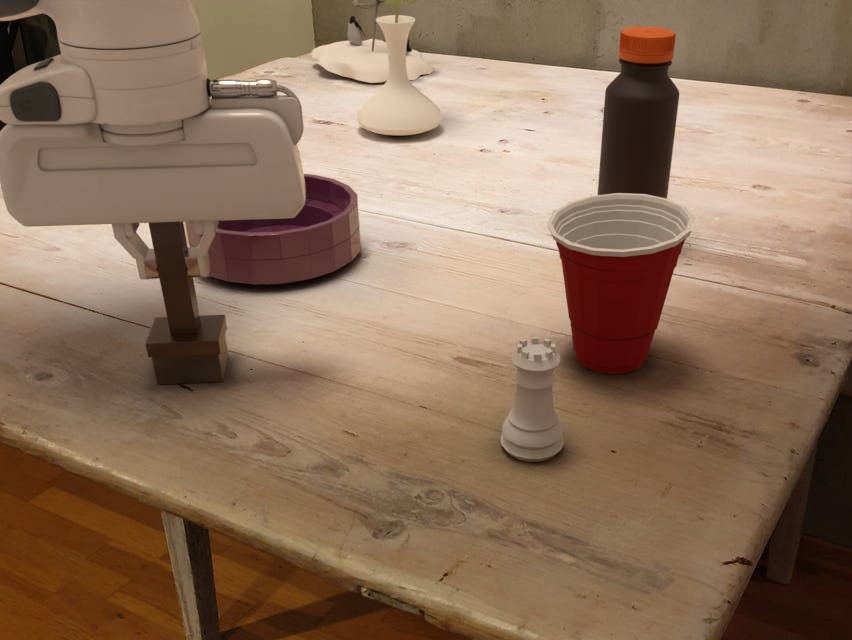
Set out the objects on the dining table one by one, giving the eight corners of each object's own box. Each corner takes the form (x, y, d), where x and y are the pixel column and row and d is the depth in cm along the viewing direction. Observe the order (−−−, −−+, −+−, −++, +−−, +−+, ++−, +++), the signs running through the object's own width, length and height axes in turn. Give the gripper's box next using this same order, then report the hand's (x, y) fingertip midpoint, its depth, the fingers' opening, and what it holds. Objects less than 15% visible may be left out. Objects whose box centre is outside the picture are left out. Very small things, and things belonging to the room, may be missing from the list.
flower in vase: (410, 148, 122) (402, -75, 108) (339, 134, 127) (323, -82, 113) (465, 123, 132) (465, -86, 117) (397, 110, 136) (389, -91, 122)
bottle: (675, 243, 98) (701, 32, 86) (633, 262, 94) (655, 43, 82) (622, 225, 102) (641, 20, 90) (580, 242, 98) (594, 31, 86)
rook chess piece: (576, 450, 67) (584, 349, 63) (526, 472, 65) (530, 369, 61) (537, 421, 70) (541, 323, 66) (487, 441, 68) (488, 341, 64)
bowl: (178, 295, 87) (167, 238, 84) (202, 227, 101) (193, 175, 97) (361, 288, 89) (357, 231, 86) (360, 221, 102) (357, 170, 99)
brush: (153, 386, 74) (119, 228, 67) (163, 358, 78) (131, 206, 71) (225, 383, 75) (199, 226, 67) (231, 355, 78) (207, 203, 71)
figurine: (285, 61, 155) (282, -51, 145) (367, 44, 167) (369, -60, 157) (373, 97, 146) (376, -21, 136) (453, 76, 157) (462, -33, 147)
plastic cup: (522, 336, 81) (526, 198, 74) (638, 318, 84) (653, 183, 77) (571, 401, 73) (581, 252, 66) (699, 379, 75) (722, 233, 69)
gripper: (301, 66, 67) (318, 253, 75) (-5, 72, 65) (46, 262, 73) (296, 90, 62) (315, 288, 70) (-36, 97, 60) (22, 299, 68)
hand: (175, 275), depth 72 cm, fingers closed on brush, 2 cm apart
